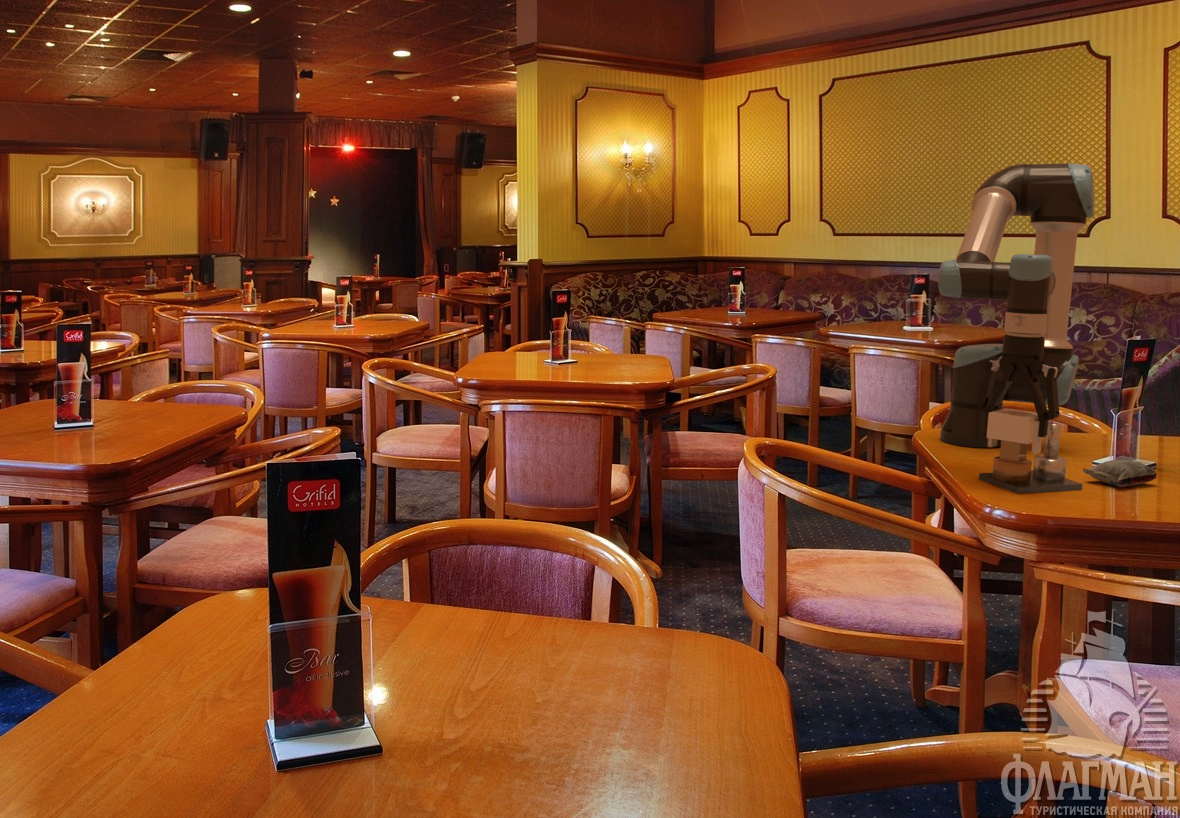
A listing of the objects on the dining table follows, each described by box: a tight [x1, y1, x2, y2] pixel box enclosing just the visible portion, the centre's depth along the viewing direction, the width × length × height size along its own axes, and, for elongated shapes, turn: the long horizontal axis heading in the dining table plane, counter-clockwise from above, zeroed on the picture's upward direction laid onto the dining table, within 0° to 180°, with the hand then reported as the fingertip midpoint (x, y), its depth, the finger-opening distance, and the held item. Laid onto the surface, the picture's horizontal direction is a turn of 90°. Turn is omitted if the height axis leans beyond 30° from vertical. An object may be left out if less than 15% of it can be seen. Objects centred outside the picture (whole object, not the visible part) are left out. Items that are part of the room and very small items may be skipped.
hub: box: [992, 440, 1033, 484], centre depth 214 cm, size 7×7×11 cm
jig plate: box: [978, 469, 1084, 495], centre depth 216 cm, size 15×12×1 cm
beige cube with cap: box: [987, 407, 1044, 445], centre depth 213 cm, size 8×8×5 cm
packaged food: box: [1082, 459, 1158, 488], centre depth 218 cm, size 9×12×5 cm
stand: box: [1032, 421, 1068, 481], centre depth 216 cm, size 6×6×11 cm
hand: (1013, 449), depth 214 cm, fingers closed on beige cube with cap, 8 cm apart
